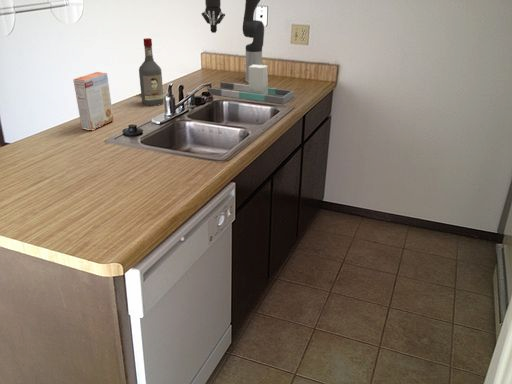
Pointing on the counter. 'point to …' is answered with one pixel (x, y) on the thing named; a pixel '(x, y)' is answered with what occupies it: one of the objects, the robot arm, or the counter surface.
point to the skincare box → (258, 79)
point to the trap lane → (226, 90)
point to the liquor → (150, 78)
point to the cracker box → (93, 100)
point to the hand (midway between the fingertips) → (213, 32)
